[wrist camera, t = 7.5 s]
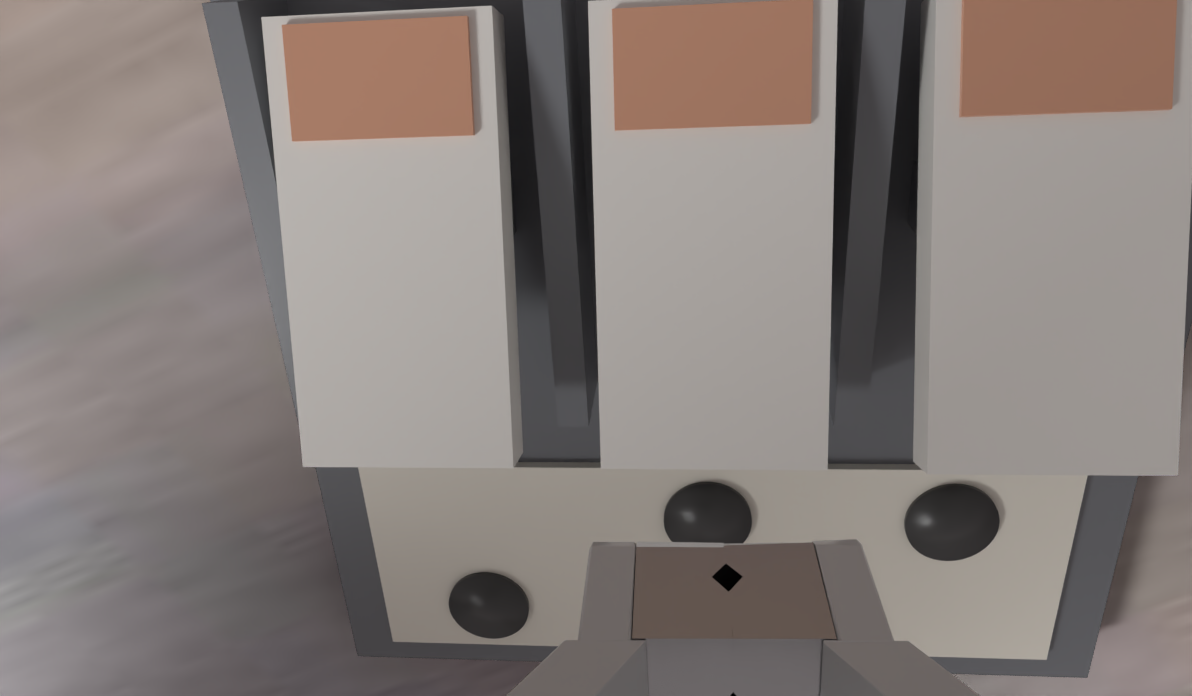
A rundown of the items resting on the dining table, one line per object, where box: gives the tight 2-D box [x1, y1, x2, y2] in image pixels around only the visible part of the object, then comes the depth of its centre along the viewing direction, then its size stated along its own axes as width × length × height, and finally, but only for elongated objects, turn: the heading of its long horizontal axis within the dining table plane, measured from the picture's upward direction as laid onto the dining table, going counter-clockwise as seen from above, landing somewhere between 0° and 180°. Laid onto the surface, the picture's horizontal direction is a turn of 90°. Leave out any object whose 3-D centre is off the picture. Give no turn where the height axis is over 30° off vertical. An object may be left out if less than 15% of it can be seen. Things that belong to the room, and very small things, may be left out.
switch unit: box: [202, 0, 1192, 678], centre depth 24 cm, size 24×24×4 cm
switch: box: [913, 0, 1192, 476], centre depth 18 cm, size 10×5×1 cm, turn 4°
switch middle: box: [588, 0, 838, 470], centre depth 19 cm, size 10×5×1 cm, turn 4°
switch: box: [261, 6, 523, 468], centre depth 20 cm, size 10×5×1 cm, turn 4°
